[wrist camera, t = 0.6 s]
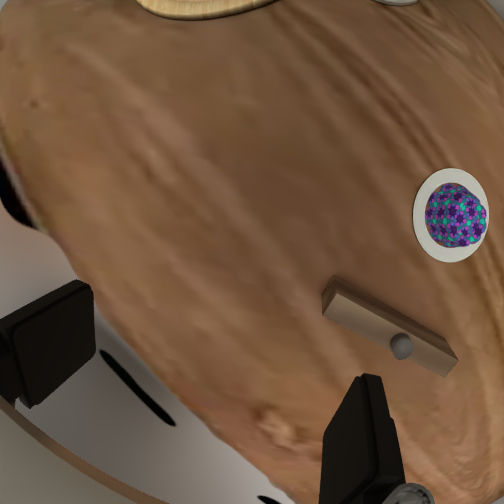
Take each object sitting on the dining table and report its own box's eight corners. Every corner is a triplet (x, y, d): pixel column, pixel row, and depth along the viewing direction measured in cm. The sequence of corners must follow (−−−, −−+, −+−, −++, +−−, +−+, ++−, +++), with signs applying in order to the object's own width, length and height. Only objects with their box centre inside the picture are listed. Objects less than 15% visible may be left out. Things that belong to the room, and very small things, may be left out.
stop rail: (333, 275, 36) (338, 300, 29) (444, 338, 35) (464, 368, 28) (321, 294, 37) (322, 323, 30) (432, 354, 36) (449, 386, 28)
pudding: (494, 237, 31) (514, 246, 26) (428, 275, 34) (443, 290, 29) (468, 154, 29) (488, 153, 24) (396, 190, 33) (409, 193, 28)
